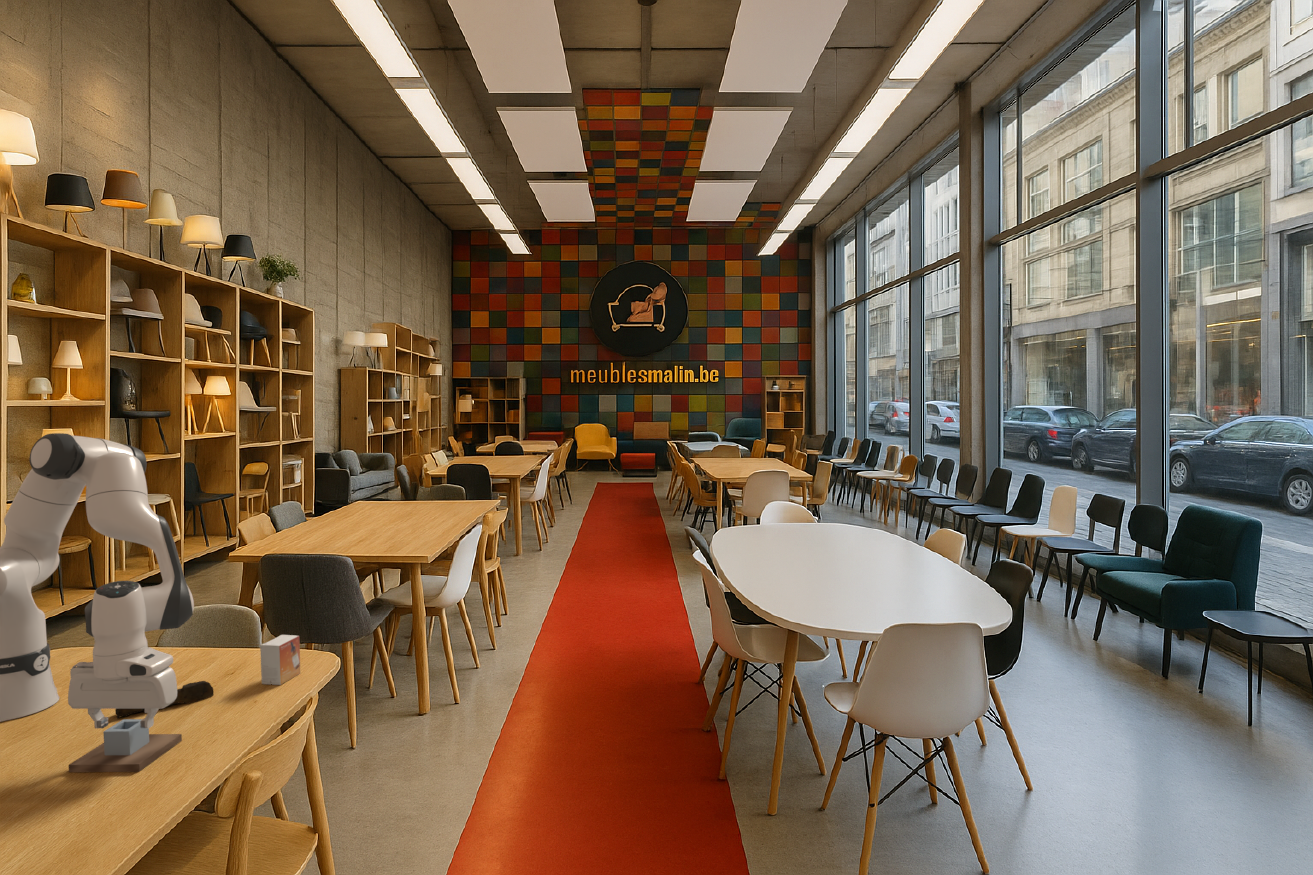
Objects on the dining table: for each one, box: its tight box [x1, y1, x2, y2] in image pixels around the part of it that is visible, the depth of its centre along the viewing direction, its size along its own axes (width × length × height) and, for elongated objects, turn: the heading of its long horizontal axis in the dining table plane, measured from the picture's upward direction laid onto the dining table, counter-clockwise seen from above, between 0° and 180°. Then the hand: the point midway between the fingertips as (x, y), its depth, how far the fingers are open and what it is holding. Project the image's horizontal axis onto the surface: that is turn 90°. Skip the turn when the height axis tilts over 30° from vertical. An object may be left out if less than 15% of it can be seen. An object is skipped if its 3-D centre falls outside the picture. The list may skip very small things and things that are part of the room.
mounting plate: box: [68, 733, 183, 773], centre depth 139 cm, size 14×12×5 cm
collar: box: [102, 718, 150, 755], centre depth 139 cm, size 5×5×5 cm
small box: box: [259, 634, 301, 686], centre depth 177 cm, size 8×6×10 cm
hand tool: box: [115, 680, 215, 719], centre depth 161 cm, size 19×4×5 cm, turn 123°
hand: (124, 727), depth 139 cm, fingers open, 8 cm apart
